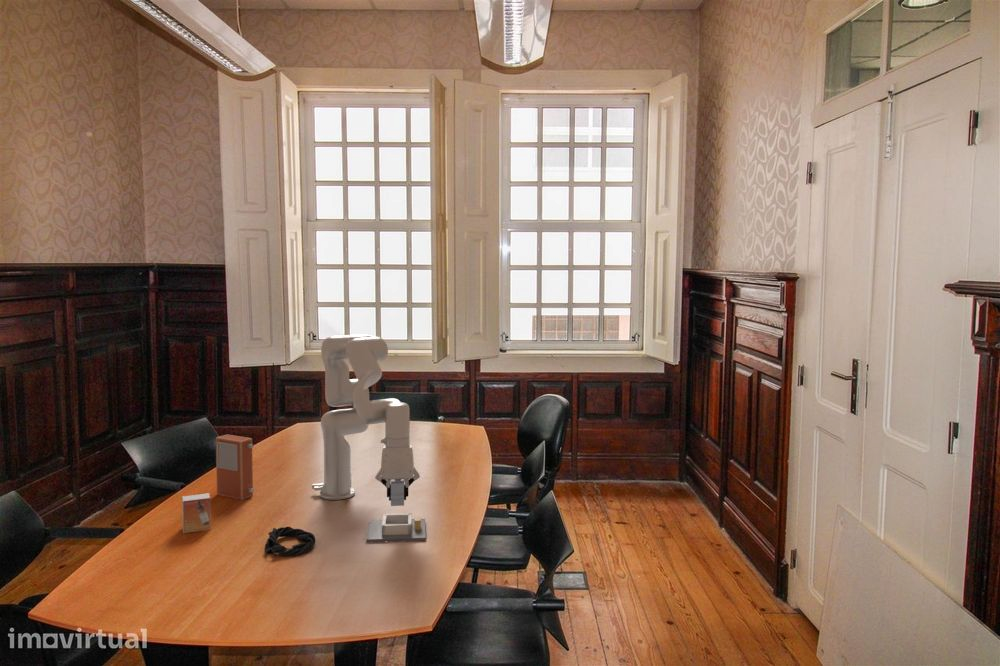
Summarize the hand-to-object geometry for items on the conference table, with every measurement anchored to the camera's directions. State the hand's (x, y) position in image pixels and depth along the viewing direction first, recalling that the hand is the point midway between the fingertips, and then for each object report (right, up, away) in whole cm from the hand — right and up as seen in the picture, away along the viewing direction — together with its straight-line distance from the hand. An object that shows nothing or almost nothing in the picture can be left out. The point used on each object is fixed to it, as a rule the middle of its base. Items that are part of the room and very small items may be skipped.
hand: (397, 498), depth 208 cm
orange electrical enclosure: (-65, -7, +32) cm, 73 cm away
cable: (-30, -12, -10) cm, 34 cm away
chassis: (0, -11, +1) cm, 11 cm away
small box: (-64, -10, 0) cm, 65 cm away
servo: (0, -1, 0) cm, 1 cm away
